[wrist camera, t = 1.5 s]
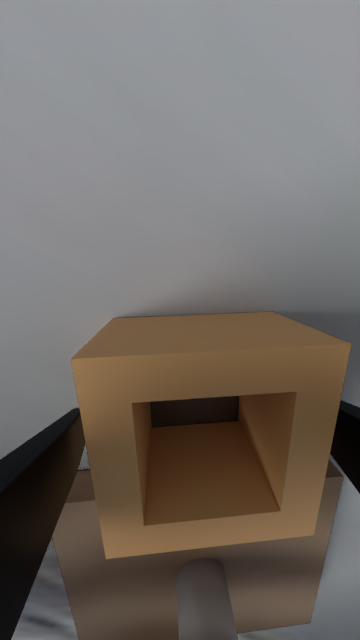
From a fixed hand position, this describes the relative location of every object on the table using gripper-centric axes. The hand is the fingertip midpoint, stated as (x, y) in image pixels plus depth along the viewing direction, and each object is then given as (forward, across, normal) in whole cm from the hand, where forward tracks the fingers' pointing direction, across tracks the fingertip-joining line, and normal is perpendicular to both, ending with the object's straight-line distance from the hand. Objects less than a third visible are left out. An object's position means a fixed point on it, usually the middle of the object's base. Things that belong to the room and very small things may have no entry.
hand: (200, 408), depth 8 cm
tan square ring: (+2, 0, 0) cm, 2 cm away
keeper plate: (+2, 0, +10) cm, 11 cm away
